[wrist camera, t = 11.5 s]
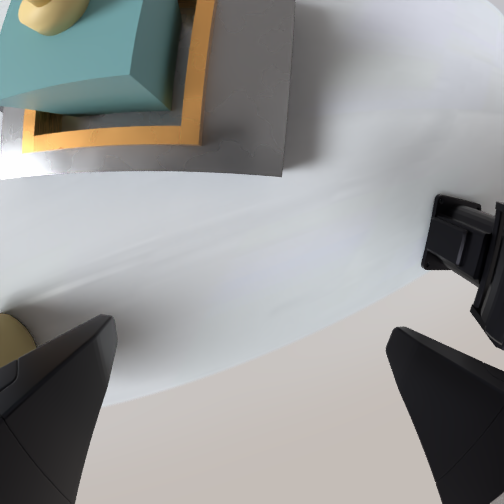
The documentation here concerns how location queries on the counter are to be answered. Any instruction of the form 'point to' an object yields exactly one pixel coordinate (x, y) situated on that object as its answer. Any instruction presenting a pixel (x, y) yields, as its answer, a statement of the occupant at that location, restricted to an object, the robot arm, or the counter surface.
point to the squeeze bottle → (13, 340)
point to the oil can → (89, 55)
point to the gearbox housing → (181, 105)
